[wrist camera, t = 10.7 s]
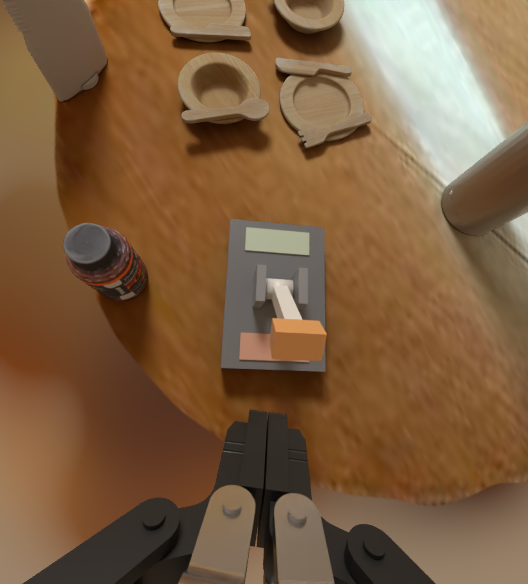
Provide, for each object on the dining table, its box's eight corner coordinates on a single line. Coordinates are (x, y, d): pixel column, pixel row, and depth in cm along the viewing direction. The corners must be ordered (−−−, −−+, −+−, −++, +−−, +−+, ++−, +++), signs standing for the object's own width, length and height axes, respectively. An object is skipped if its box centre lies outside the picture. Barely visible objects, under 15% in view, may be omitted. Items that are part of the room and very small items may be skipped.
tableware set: (154, -27, 51) (148, -59, 47) (325, -23, 56) (333, -53, 52) (181, 164, 44) (177, 144, 40) (374, 149, 49) (388, 130, 45)
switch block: (317, 236, 44) (334, 212, 37) (317, 371, 39) (337, 372, 33) (229, 229, 42) (231, 202, 35) (220, 367, 38) (220, 368, 31)
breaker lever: (294, 277, 37) (326, 334, 24) (292, 296, 38) (321, 361, 25) (261, 275, 37) (275, 331, 24) (259, 294, 38) (272, 359, 25)
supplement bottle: (146, 302, 39) (117, 277, 28) (95, 300, 38) (44, 274, 27) (151, 256, 40) (125, 215, 29) (101, 253, 39) (55, 210, 28)
